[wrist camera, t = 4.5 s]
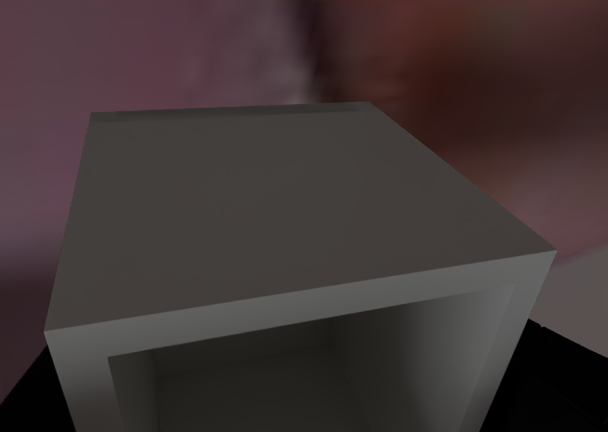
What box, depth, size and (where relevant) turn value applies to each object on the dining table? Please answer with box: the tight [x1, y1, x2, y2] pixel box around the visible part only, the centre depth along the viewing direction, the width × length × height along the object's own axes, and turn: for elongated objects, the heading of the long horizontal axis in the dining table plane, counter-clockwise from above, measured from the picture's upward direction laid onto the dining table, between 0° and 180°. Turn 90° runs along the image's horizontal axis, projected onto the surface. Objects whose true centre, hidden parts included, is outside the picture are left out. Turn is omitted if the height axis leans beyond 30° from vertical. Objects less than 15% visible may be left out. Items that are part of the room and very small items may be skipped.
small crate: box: [43, 102, 558, 432], centre depth 8 cm, size 6×5×5 cm
